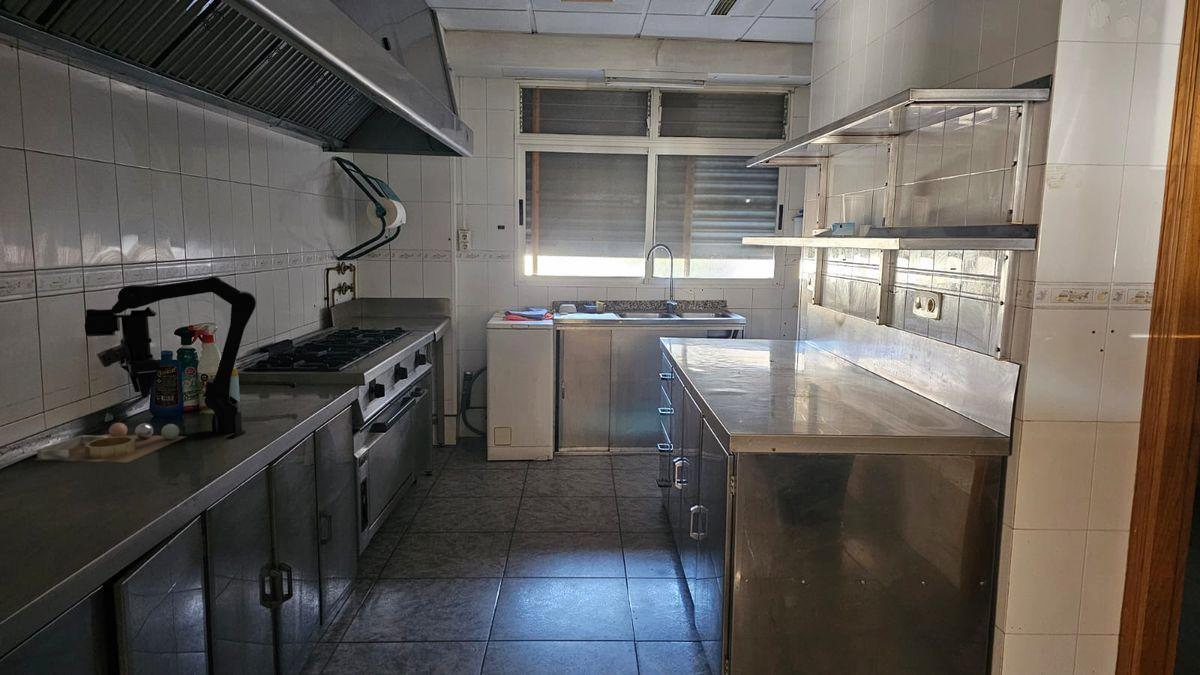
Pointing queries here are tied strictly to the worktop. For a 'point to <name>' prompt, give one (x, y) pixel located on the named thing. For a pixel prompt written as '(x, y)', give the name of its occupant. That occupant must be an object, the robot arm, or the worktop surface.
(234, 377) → the bottle
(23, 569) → the worktop surface
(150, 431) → the steel ball
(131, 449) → the race ring
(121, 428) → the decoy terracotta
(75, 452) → the board
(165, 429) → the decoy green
